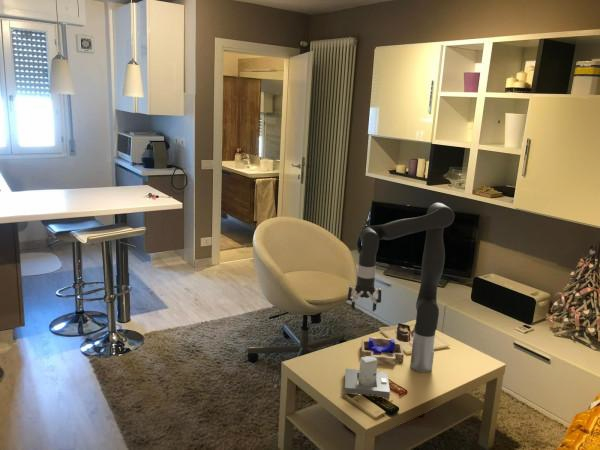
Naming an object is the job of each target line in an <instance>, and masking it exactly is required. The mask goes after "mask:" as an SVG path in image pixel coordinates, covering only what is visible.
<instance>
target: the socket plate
mask: <svg viewBox="0 0 600 450" xmlns="http://www.w3.org/2000/svg"><path fill="white" fill-rule="evenodd" d="M359 371H360V369H356V368H354V369H353V368H345V371H344V395H347V394H346V393H357V394H377V395H379V396H381V397H384V398H383V399H390V395H391V391H390V383H389V373H388V372H387V371H377V372H376V383H375V386H373V387H368V386H359V383H358V382H359Z"/></svg>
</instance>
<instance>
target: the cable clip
mask: <svg viewBox="0 0 600 450" xmlns="http://www.w3.org/2000/svg"><path fill="white" fill-rule="evenodd" d="M390 339H391V342H390V343H389V344H388V345H387V346H379V345H375V344H374V343H373V341H372V338H370V337H368V341H369V344H368V348H367V349H368V350H367V351H373V355H375V354H377V355H382V353H383V354H391V355H392V354H393V353H395V351H394V346H395V343H396V341H395V338H394V339H393V338H390Z"/></svg>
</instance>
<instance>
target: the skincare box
mask: <svg viewBox="0 0 600 450" xmlns="http://www.w3.org/2000/svg"><path fill="white" fill-rule="evenodd" d="M377 362H378V360H377V359H376V358H375V357H374V356H366V357H362V356H361V357H360V362H359V370H360V371H359V382H358V383H359V385H360V386H368V387H373V386H375V383H376V372H377V370H378V364H377Z"/></svg>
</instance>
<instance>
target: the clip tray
mask: <svg viewBox="0 0 600 450" xmlns="http://www.w3.org/2000/svg"><path fill="white" fill-rule="evenodd" d="M369 338H372V341H373V343H374V344H375V345H376V346H380V347H385V346H387V345H388V344H389V343H390V342H391V339H392V338H386V337H385V338H383V337H373V336H369ZM368 344H369V340H366V339H365V340H364V339H361V346H360V347H361V348H360V349H361V357H366V356H374V357H375V358H376V359H377V360H378V362H377V365H388V366H396V362H404V355H405V354H404V349H403V344H402V343H400V342H395V346H394V353H393V354H392V353H391V355H392V356H385V355H375V354H374V353H373V351H368V350H365V349H368ZM395 351H396V352H395ZM397 351H398V352H397Z"/></svg>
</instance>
